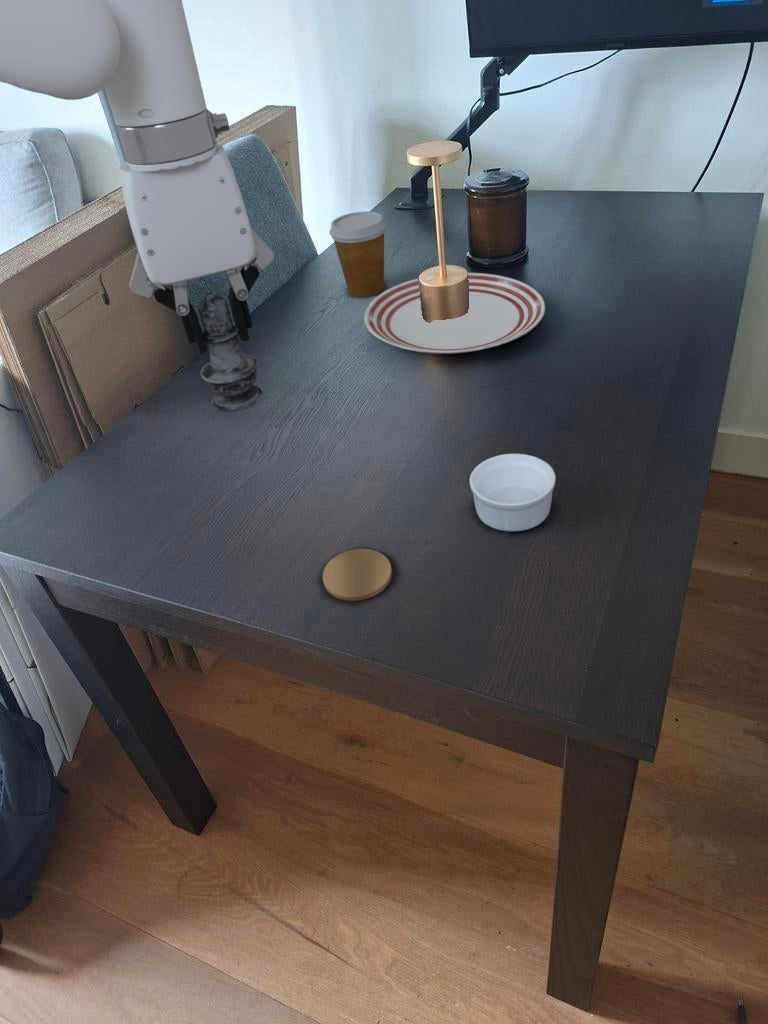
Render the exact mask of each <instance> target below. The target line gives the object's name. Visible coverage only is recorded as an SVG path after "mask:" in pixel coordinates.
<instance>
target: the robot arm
mask: <svg viewBox="0 0 768 1024" xmlns="http://www.w3.org/2000/svg"><path fill="white" fill-rule="evenodd" d="M0 83H4V84H6V85H7V84H8V85H11V86H13V87H16V88H18V89H21V90H25V91H28V92H32V93H37V94H42V95H45V96H49V97H53V98H55V99H60V100H65V101H76V100H82V99H87V98H89V97H92V96H94V95H96V94H97V93H99V92H101V91H103V89H104V92H105V95H106V98H107V102H108V105H109V107H110V111H111V114H112V118H113V120H114V124H115V127H116V131H117V134H118V138H119V141H120V144H121V147H122V150H123V154H124V157H125V160H126V162H123V163H122V164H120V165H119V169H118V170H119V178H120V184H121V191H122V196H123V201H124V204H125V210H126V213H127V216H128V221H129V226H130V228H131V229H130V230H131V231H132V237H133V239H134V243H135V247H136V250H137V253H136V256H135V260H134V264H133V268H132V272H131V276H130V280H129V283H128V287H129V289H130V292H131V294H132V295H133V296H138V297H141V298H144V299H148V300H153V301H156V302H157V303H159V304H161V305H163V306H164V307H167V308H169V309H170V310H172V311H174V312H176V313H177V314H178V315H179V316H180V320H181V323H182V326H183V330H184V334H185V336H186V340H187V342H188V344H189V345H191V344H194V343H195V345H196V347H197V349H198V352H199V353H200V354H203V353H206V351H208V347H207V343H206V341H204V337H203V331H202V326H201V323H200V320H199V317H198V314H197V311H196V309H195V307H194V305H193V304H192V302H190V299H189V292H188V285H187V282H190V281H194V280H198V279H202V278H206V277H210V276H214V275H217V274H222V273H224V275H225V277H226V281H227V282H228V285H229V289H228V295H227V301H228V305H229V309H230V313H231V317H232V321H233V325H234V326H236V327H237V328H238V333H237V334H238V335H237V336H239V338H240V340H241V341H242V342H247V341H250V335H249V331H248V329H250V328H253V322H252V318H251V317H252V316H251V313H250V309H249V305H248V301H247V299H248V298H249V296H250V291H251V290H252V288H253V286H254V285H255V284H256V281H258V278H259V277H260V274H261V273H262V272H264V271H265V270H266V269H267V268H269V266H270V265H271V264H272V263H273V262H274V261H275V260H276V259H275V258H276V254H275V253H274V251H273V250H272V249H271V248H270V247H269V246H268V245H267V244H266V242H265V241H263V239H262V238H261V237H260V236H259V235H258V234H257V233H256V232H255V230H253V229H252V226H251V223H250V220H249V216H248V213H247V210H246V206H245V202H244V198H243V196H242V193H241V189H240V186H239V183H238V181H237V178H236V175H235V172H234V168H233V167H232V164H231V162H230V159H229V156H228V155H227V153H226V150H225V148H224V146H223V145H221V144H218V143H217V139H218V137H219V135H221V134H222V133H223V132H227V131H230V123H229V119H228V116H227V114H226V113H225V112H223V113H219V114H217V113H216V112H212V111H210V110H209V109H208V108H207V104H206V103H207V102H206V100H205V95H204V89H203V86H202V81H201V78H200V73H199V69H198V65H197V60H196V56H195V52H194V47H193V43H192V39H191V34H190V30H189V26H188V23H187V17H186V13H185V8H184V3H183V0H0ZM240 268H241V269H240ZM148 279H149V280H148ZM167 286H169V287H170V288H169V287H167Z"/></svg>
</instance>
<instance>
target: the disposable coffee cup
mask: <svg viewBox="0 0 768 1024" xmlns="http://www.w3.org/2000/svg"><path fill="white" fill-rule="evenodd" d="M386 228H387V223H386V221H385V220H384V217H383V215H382V214H381V213H379V212H375V211H356V212H355V211H354V212H350V213H346V214H343V215H340V216H338V217H336V218H335V219H333V220H332V221H331V223H330V229H329V235H330V237H331V238H332V240H333V242H334V246H335V249H336V253H337V256H338V259H339V263H340V267H341V271H342V273H343V274H342V275H343V276H344V281H345V283H346V288H347V291H348V294H349V295H350V296H353V297H357V298H365V297H371V296H375V295H377V294H380V293H382V291H384V289H385V232H386Z"/></svg>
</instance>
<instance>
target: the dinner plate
mask: <svg viewBox="0 0 768 1024" xmlns="http://www.w3.org/2000/svg"><path fill="white" fill-rule="evenodd" d="M467 273H468V280H469V309H468V313H466V314H465V315H463V316H461V317H458V318H454V319H446V320H433V321H432V322H431V323H428V322H426V321H425V320H424V319H423V316H422V311H421V301H420V291H419V284H418V278H415V279H411V280H408V281H405V282H402V283H399V284H396V285H394V286H392V287H390V288H389V289H386V290H385V291H383V292H380V293H379V295H377V296H376V297H375V298H374V299H372V301H371V302H370V303H369V304H368V306H367V308H366V309H365V312H364V317H363V318H364V325H365V327H366V328H367V330H368V331H369V332H370V334H371V335H373V336H374V337H375V338H377V339H379V340H380V341H382V342H384V343H386V344H388V345H390V346H392V347H395V348H398V349H402V350H406V351H411V352H415V353H422V354H432V355H454V354H464V353H465V354H466V353H471V352H477V351H483V350H486V349H489V348H495V347H499V346H501V345H504V344H508V343H510V342H512V341H514V340H517V339H519V338H521V337H522V336H525V335H527V334H528V333H529V332H531V331H532V330H533V329H535V328H536V327H537V325H539V324H540V322H541V321H542V320H543V317H545V316H544V315H545V313H546V304H545V300H544V298H543V297H542V295H541V294H540V293H539V292H538V290H536V289H535V288H533V287H532V286H530V285H528V284H527V283H524V282H522V281H520V280H517V279H515V278H511V277H507V276H503V275H498V274H491V273H481V272H467Z"/></svg>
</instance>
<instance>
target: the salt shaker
mask: <svg viewBox="0 0 768 1024" xmlns="http://www.w3.org/2000/svg"><path fill="white" fill-rule="evenodd" d="M205 294H206V295H205V297H203V298H201V300H200V301H199V303H198V305H197V310H198V311H197V312H198V315H199V318H200V321H201V325H202V328H203V332H202V334H203V337H204V341H205V343H206V346H207V350H208V353H209V357H210V358H209V359H210V360H209V362H207V363H206V364H205V365H203V367H202V368H201V370H200V377H201V379H203V380H204V382H205V383H206V386H208V387H209V389H210V390H211V391H212V392H213V393H214V394H215V395H214V397H213V398H212V400H211V401H212V402H211V404H212V407H213V408H214V409H215V410H217V411H219V412H225V413H234V412H241V411H244V410H247V409H249V408H252V407H254V406H255V405H256V404H258V403H259V402H260V401H261V400H262V398H263V397H264V396H263V394H264V393H263V390H262V389H261V388H260V387H259V386H256V385H254V384H255V382H256V381H257V375H258V367H259V361H258V359H257V358H256V357H255V356H254V355H250V354H247V353H243V351H242V350H241V347H240V344H239V340H238V339H239V338H238V335H237V334H238V328H237V327H236V326H235V324H234V322H233V318H232V314H231V310H230V306H229V302H227V301H228V300H226V298H224V296H222V295H220V294H219V295H218V294H213V290H212V289H211V288H210V287H206V290H205Z"/></svg>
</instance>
